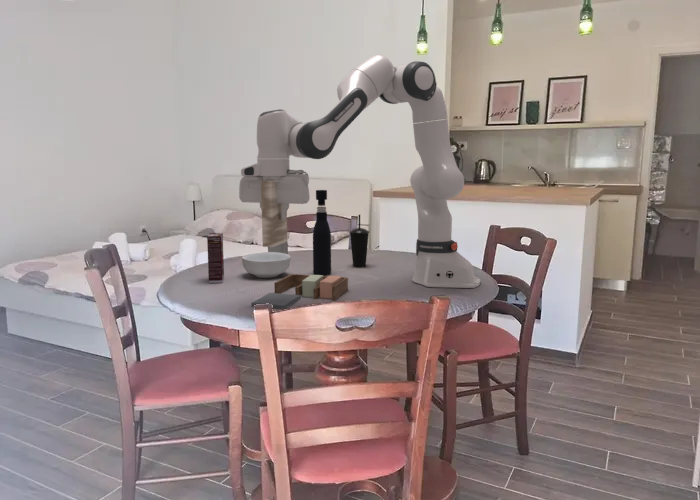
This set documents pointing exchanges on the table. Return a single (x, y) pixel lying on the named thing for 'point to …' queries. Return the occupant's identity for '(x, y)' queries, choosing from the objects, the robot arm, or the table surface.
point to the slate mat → (278, 300)
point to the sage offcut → (310, 285)
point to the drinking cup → (359, 246)
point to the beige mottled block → (272, 216)
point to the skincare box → (279, 248)
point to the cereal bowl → (266, 264)
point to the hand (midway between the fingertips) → (274, 219)
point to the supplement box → (215, 257)
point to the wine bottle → (321, 238)
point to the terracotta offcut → (328, 286)
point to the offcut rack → (296, 282)
